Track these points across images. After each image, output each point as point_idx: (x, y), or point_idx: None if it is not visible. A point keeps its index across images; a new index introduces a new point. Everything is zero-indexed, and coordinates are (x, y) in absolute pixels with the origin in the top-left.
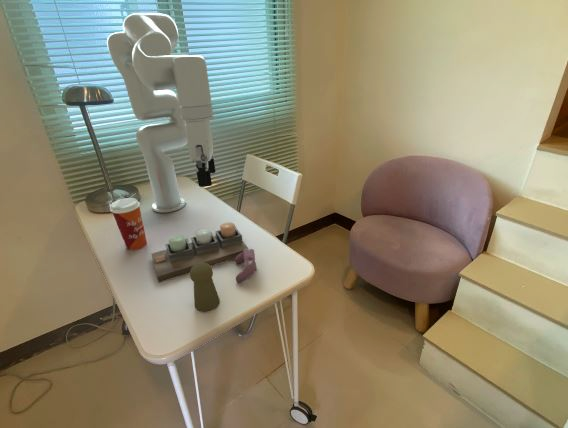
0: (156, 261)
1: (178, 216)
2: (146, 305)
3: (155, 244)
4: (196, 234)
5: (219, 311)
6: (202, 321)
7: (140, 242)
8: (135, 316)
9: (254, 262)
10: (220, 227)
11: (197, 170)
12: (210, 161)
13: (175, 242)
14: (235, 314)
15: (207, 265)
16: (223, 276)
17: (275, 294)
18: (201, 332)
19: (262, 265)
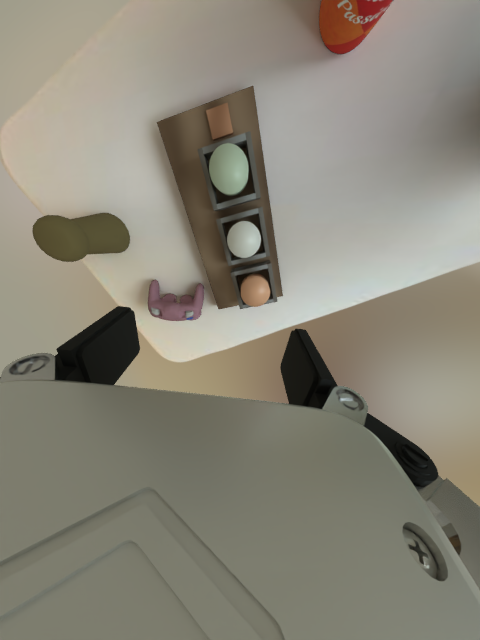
0: (208, 111)
1: (445, 157)
2: (97, 109)
3: (321, 92)
4: (240, 224)
5: None
6: None
7: (327, 23)
8: (66, 86)
9: (156, 316)
10: (254, 279)
11: (13, 369)
12: (296, 404)
13: (215, 166)
14: (93, 271)
15: (60, 255)
16: (171, 262)
17: None
18: None
19: None
